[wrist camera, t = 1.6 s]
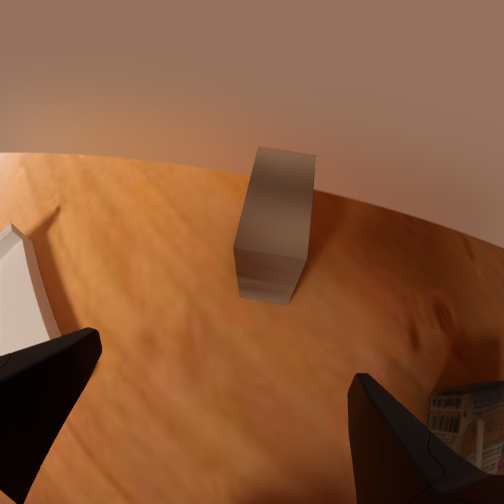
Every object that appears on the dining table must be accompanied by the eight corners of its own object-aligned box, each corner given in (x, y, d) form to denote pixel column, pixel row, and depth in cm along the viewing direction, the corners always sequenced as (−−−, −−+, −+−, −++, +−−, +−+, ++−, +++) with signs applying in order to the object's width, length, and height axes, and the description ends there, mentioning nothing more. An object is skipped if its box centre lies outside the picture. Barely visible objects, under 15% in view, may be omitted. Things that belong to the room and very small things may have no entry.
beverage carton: (387, 557, 11) (415, 584, 5) (425, 390, 20) (470, 385, 14) (448, 537, 11) (481, 553, 5) (481, 382, 19) (526, 372, 13)
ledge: (84, 386, 20) (52, 382, 15) (20, 427, 17) (-11, 427, 12) (32, 242, 26) (8, 220, 22) (-19, 290, 23) (-44, 275, 19)
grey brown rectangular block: (288, 305, 23) (308, 260, 15) (238, 296, 24) (231, 247, 16) (299, 223, 27) (316, 155, 19) (255, 216, 27) (257, 146, 19)
